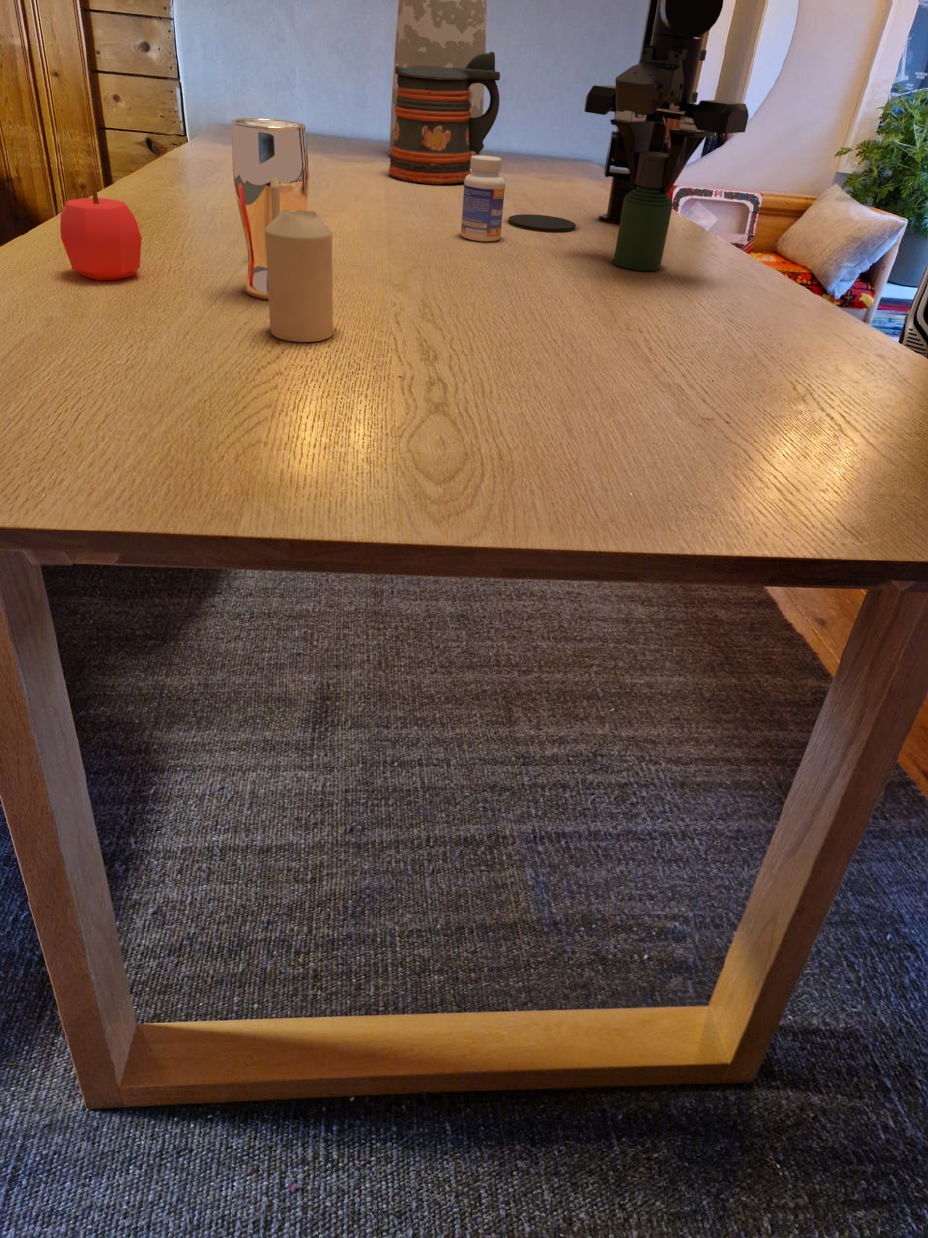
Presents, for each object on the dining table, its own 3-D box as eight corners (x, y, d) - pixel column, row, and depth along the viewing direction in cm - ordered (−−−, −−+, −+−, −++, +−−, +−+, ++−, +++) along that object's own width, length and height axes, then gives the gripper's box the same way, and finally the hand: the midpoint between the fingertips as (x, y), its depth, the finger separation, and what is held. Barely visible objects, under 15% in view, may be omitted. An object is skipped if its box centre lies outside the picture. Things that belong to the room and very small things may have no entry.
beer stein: (478, 174, 165) (488, 49, 154) (503, 187, 154) (515, 54, 143) (381, 169, 160) (384, 40, 149) (399, 183, 149) (404, 44, 137)
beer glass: (252, 303, 83) (241, 126, 75) (233, 284, 88) (220, 116, 80) (321, 299, 86) (318, 128, 78) (298, 281, 91) (293, 119, 83)
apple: (125, 261, 92) (114, 179, 88) (163, 279, 88) (152, 193, 83) (50, 269, 88) (34, 182, 83) (86, 288, 83) (71, 197, 79)
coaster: (525, 214, 134) (526, 211, 134) (585, 225, 130) (585, 222, 130) (496, 223, 126) (497, 219, 126) (559, 235, 123) (559, 231, 123)
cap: (628, 183, 105) (633, 152, 103) (645, 180, 107) (650, 150, 105) (657, 189, 103) (663, 158, 101) (674, 186, 105) (680, 155, 103)
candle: (305, 346, 74) (301, 221, 68) (257, 332, 76) (249, 209, 71) (345, 333, 78) (345, 213, 72) (298, 320, 80) (294, 202, 75)
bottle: (622, 255, 114) (640, 153, 107) (666, 264, 112) (687, 160, 104) (606, 264, 109) (623, 158, 102) (651, 273, 107) (672, 166, 100)
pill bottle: (496, 244, 115) (504, 162, 109) (456, 238, 115) (462, 157, 110) (503, 236, 119) (510, 157, 114) (464, 231, 120) (470, 152, 114)
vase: (479, 169, 170) (499, -78, 149) (385, 161, 170) (391, -89, 148) (479, 156, 187) (497, -68, 165) (393, 148, 186) (400, -78, 165)
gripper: (568, 25, 96) (549, 181, 105) (721, 41, 86) (685, 210, 95) (621, 30, 103) (599, 175, 112) (767, 45, 94) (730, 202, 103)
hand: (649, 190), depth 105 cm, fingers closed on cap, 4 cm apart
